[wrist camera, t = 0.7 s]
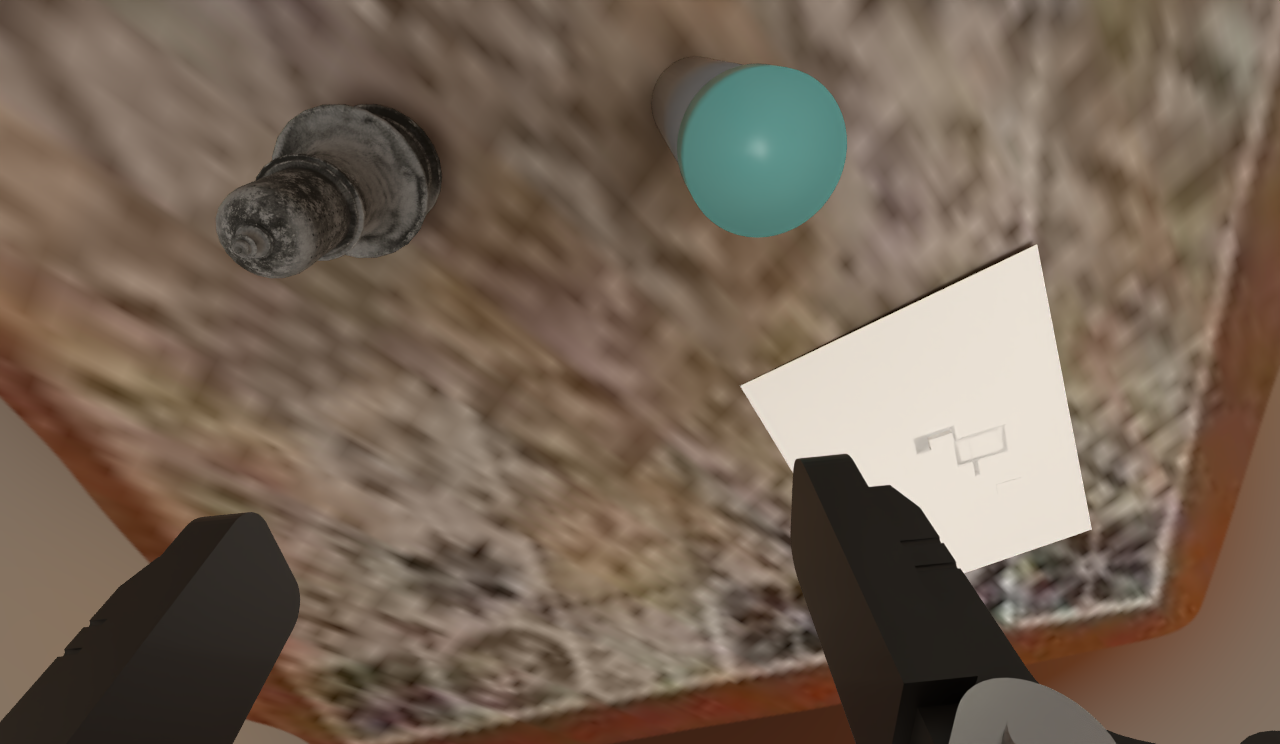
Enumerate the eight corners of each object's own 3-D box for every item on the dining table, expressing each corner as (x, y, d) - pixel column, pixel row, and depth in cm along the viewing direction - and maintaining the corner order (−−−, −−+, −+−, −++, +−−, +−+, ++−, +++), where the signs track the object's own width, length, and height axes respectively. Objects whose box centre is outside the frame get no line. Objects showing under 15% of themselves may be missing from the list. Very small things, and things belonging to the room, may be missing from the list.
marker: (644, 59, 25) (677, 78, 13) (735, 48, 25) (850, 55, 13) (654, 155, 27) (691, 246, 15) (738, 143, 27) (843, 227, 15)
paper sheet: (1085, 546, 41) (1095, 558, 40) (679, 658, 46) (680, 671, 45) (1063, 226, 30) (1077, 232, 29) (535, 418, 35) (532, 429, 34)
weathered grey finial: (476, 180, 27) (394, 268, 17) (386, 258, 29) (260, 383, 18) (373, 64, 25) (204, 82, 15) (282, 156, 27) (69, 233, 16)
